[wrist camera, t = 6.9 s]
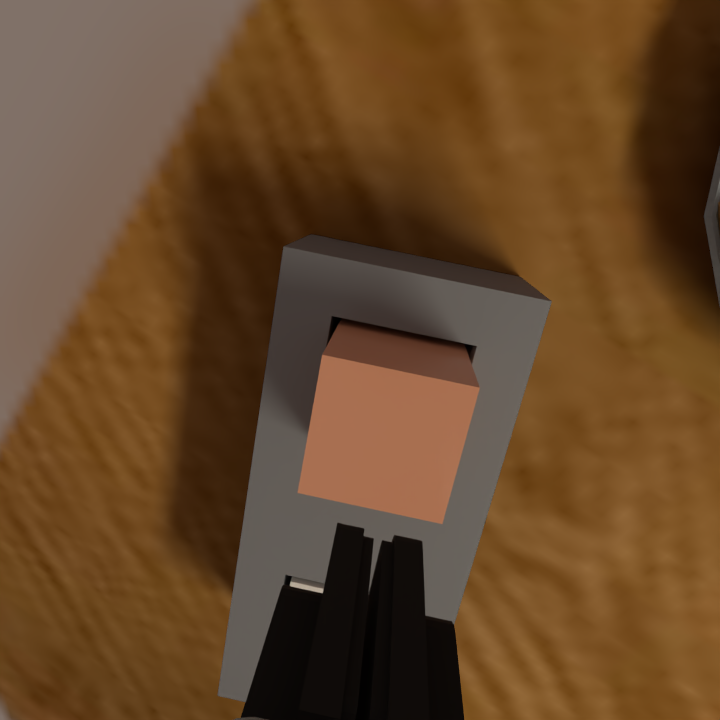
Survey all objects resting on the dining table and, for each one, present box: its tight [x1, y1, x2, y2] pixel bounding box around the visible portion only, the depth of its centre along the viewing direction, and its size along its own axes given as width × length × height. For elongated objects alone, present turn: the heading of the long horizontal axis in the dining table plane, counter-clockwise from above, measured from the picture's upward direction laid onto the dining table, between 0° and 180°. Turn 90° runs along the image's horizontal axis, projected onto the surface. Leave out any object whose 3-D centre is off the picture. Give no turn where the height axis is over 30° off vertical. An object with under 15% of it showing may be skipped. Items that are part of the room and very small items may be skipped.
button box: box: [218, 234, 552, 702], centre depth 27 cm, size 22×10×6 cm, turn 169°
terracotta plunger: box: [298, 318, 480, 524], centre depth 21 cm, size 5×5×6 cm
